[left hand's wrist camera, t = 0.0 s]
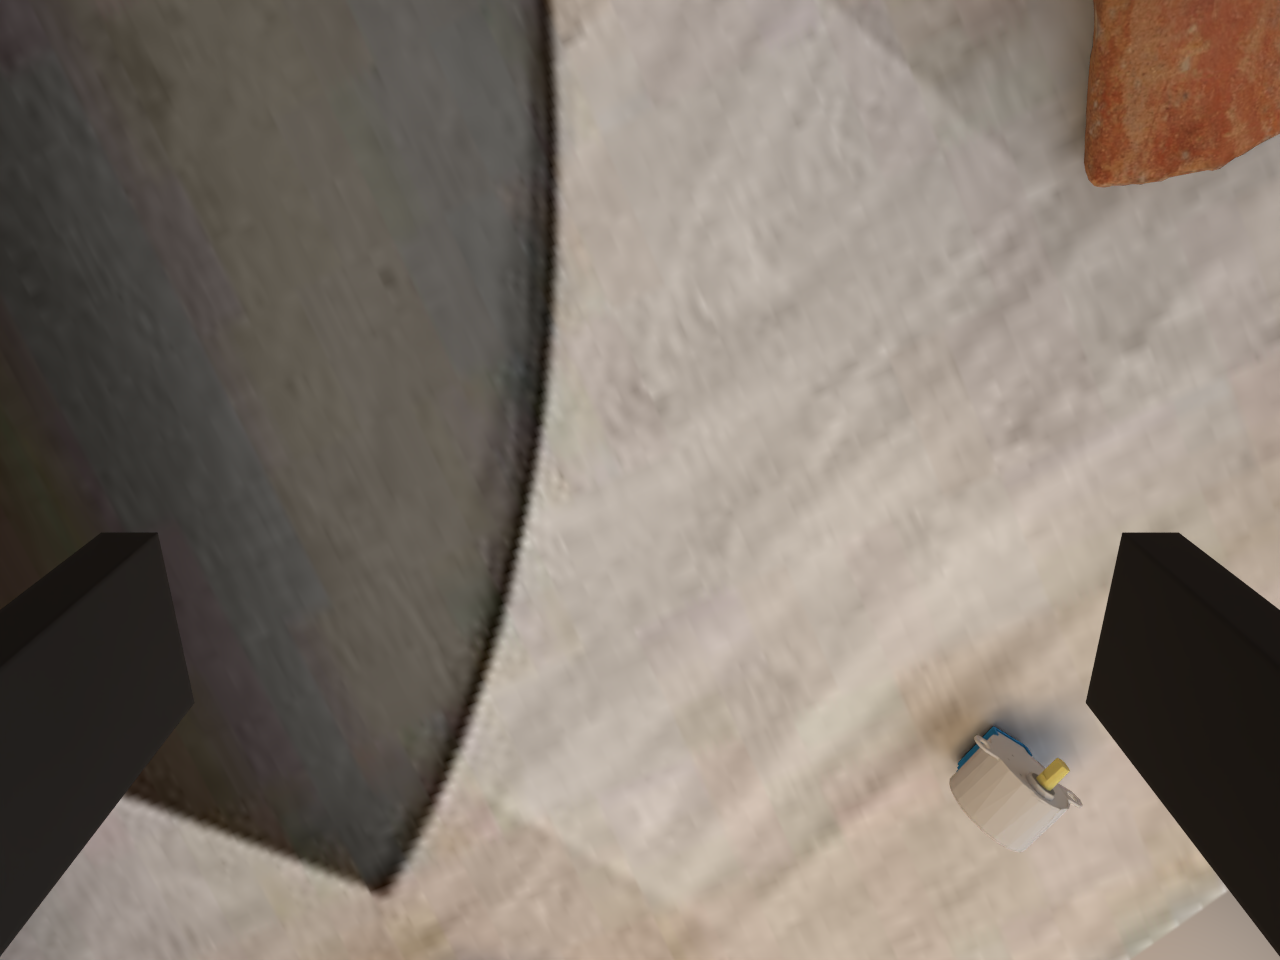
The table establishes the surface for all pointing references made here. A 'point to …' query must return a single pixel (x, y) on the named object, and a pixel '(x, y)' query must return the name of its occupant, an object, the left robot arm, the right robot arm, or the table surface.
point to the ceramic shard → (1179, 86)
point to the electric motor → (1010, 790)
